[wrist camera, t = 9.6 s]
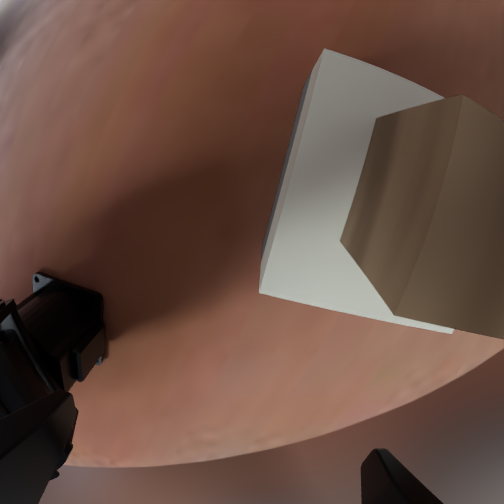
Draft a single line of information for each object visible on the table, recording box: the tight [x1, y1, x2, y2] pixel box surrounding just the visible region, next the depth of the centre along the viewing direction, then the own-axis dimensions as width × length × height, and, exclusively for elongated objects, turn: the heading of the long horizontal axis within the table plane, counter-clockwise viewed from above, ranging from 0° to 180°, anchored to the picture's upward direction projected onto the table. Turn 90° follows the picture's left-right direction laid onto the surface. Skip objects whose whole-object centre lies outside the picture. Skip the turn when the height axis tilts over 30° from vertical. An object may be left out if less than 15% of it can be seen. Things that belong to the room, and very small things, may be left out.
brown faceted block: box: [340, 94, 504, 339], centre depth 8 cm, size 5×5×6 cm
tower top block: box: [259, 49, 454, 334], centre depth 13 cm, size 10×10×4 cm
